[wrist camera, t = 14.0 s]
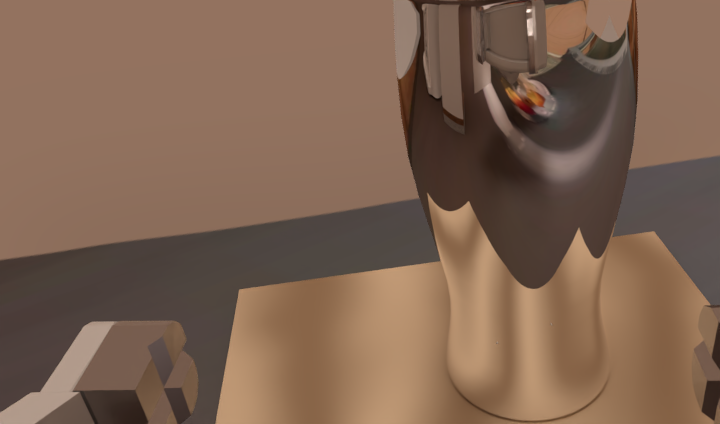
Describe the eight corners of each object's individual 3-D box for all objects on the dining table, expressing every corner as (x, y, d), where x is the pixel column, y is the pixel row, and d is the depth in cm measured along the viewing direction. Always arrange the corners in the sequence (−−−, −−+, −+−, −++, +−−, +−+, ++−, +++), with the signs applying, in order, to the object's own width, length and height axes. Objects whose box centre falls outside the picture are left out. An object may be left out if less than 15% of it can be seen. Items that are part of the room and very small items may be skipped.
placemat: (195, 572, 22) (190, 562, 21) (241, 297, 34) (239, 289, 33) (841, 490, 21) (845, 479, 21) (653, 240, 33) (653, 231, 33)
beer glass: (412, 332, 29) (354, -34, 21) (562, 285, 30) (559, -80, 22) (479, 459, 23) (434, 18, 15) (663, 395, 24) (707, -48, 16)
